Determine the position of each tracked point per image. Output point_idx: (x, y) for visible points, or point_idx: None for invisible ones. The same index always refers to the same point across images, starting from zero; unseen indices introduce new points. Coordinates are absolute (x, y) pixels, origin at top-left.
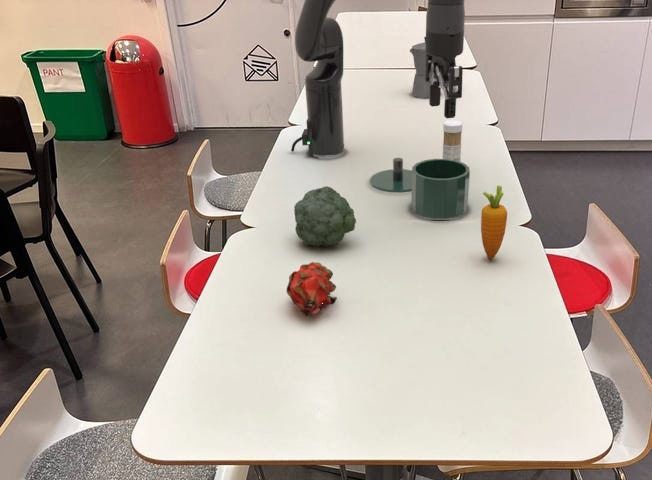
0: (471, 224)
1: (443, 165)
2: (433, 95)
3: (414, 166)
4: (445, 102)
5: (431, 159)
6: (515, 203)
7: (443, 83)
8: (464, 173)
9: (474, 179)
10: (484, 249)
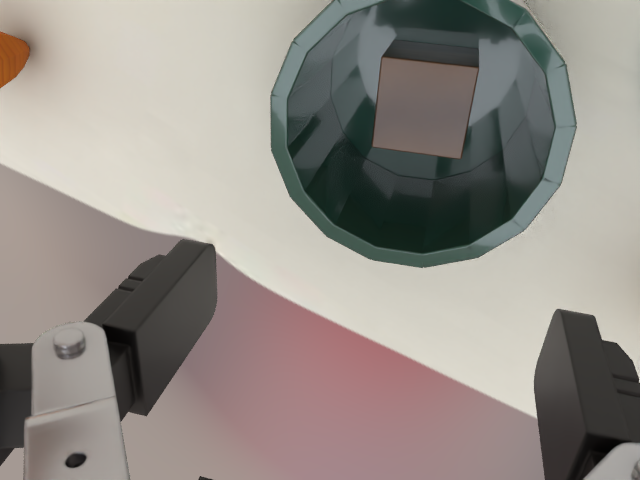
0: (264, 125)
1: (514, 200)
2: (563, 396)
3: (522, 24)
4: (125, 309)
5: (561, 163)
6: (352, 322)
7: (24, 452)
8: (310, 204)
9: (603, 335)
10: (6, 34)
